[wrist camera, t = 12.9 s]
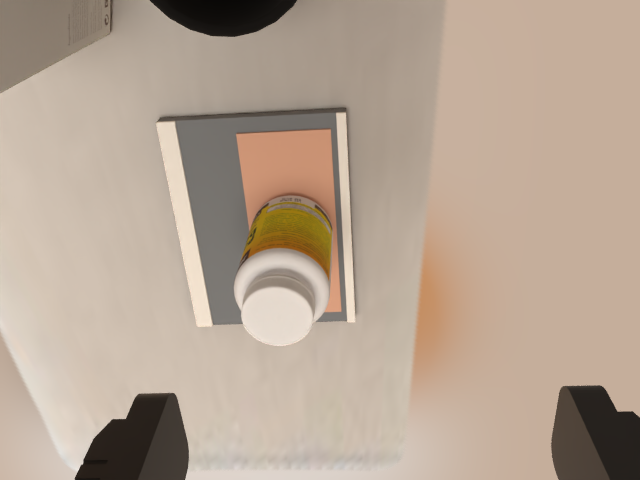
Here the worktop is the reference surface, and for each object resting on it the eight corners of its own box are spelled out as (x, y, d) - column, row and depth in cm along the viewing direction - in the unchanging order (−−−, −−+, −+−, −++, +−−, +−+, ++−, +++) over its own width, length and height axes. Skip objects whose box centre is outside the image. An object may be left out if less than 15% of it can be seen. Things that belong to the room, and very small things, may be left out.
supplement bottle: (252, 189, 40) (224, 270, 31) (335, 194, 40) (332, 277, 31) (252, 261, 43) (226, 354, 34) (330, 266, 43) (325, 361, 34)
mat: (200, 318, 47) (197, 326, 46) (160, 117, 39) (155, 122, 38) (355, 314, 46) (355, 322, 45) (345, 108, 38) (345, 112, 37)
